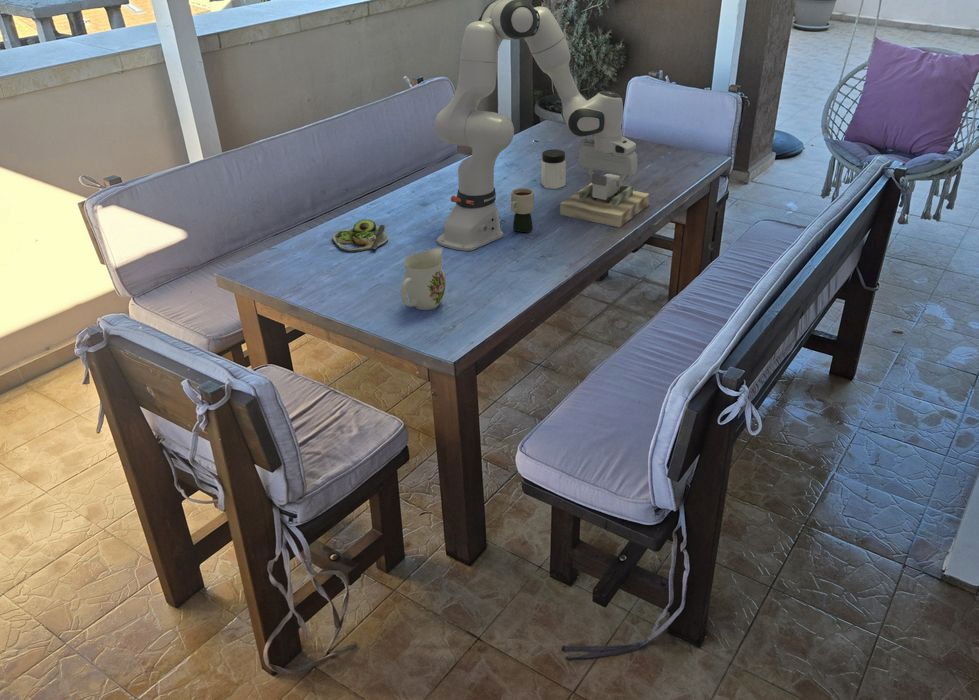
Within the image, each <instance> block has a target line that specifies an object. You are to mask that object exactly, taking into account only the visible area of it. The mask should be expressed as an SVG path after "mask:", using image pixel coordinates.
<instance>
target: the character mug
mask: <svg viewBox="0 0 979 700" xmlns="http://www.w3.org/2000/svg"><path fill="white" fill-rule="evenodd" d="M510 197H511V198H510V201H511V202H510V211H511V212H512V213H514V217H513V225H512V229H513V230H514V231H515V232H523V233H525V232H527V233H528V232H531V231H532V230H533V227H534V226H533V219H532V218H533V217H532V214H531V213H532V212H534V209H535V204H534V203H535V193H534V190H533V189H531V188H525V187H521V188H514V189H513V190H511V194H510Z"/></svg>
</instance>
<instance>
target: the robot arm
mask: <svg viewBox="0 0 979 700" xmlns="http://www.w3.org/2000/svg"><path fill="white" fill-rule="evenodd" d="M565 36H566V35H564V31H563V30H562V28H561V25H560V24H559V22H558V21H557V19H556V17H555V16H554V15H553V13H552V11H551V10H550V9H549V8H548V7H545V6H536V7H532V5H531V4H529V3H528V2H526V1H523V0H493V1H491V2H490V3H488V4H487V5H486V6H485V7H484V9H482V13H481V14H480V16H479V19H478V20H477V21H473V22H470V23H469V24H468V25H467V26H466V27H465V30H464V33H463V38H462V43H461V49H460V57H459V71H458V79H457V80H458V81H457V86H456V89H455V93H454V95H453V96H452V98H451V100H450V102H448V104H447V105H446V106H445V107H444V108H443V109H441V110H440V111H439V112H438V113H437V115H436V117H435V119H434V123H433V124H434V126H433V128H434V132H435V134H436V137H437V138H438V140H440V141H442V142H445V143H448V144H451V145H454V146H462V147H468V148H471V151H472V152H471V156H469V157H466V158H465V159H463V160H462V161H461V162H460V163H459V165H458V168H457V172H458V173H457V177H458V178H457V179H458V189H457V193H456V195H451V197H450V201H451V203H455V206H453V208H452V210H451V212H450V214H449V215H448V217H447V218H446V220H445V221H444V223H443V233H441V234H440V235H439V236H438V237H437V239H436V243H437V244H438V245H440V246H441V247H445V248H448V249H452V250H456V251H466V252H467V251H474V250H476V249H479V248H481V247H483V246H485V245H487V244H490V243H491V242H494V241H497V240H499V239H501V238H502V237H504V232H503V231H502V229H501V223H500V215H499V210H498V208H497V204H496V199H497V198H496V196H497V192H496V187H495V184H494V183H495V179H494V177H495V164H496V162H497V158H498V157H499V155H500V154H501V153H502V151H504V150H505V149H507V148H508V147H509V146H510V145H511V143H512V141H513V139H514V136H515V135H514V134H515V127H514V123H513V121H512V120H511V118H510V117H509V116H507V115H503V114H501V113H498V112H496V111H495V112H494V111H487V110H479V109H478V107H479V104H480V102H481V100H482V99H484V98H486V97H488V96H490V95H491V94H492V93H493V92H494V90H495V89H496V83H497V69H498V57H499V56H498V55H499V54H498V53H499V49H500V46H501V44H502V42H503V41H504V40H506V41H508V40H509V41H511V40H524V41H525V43H526V44H527V46H528V48H529V51H530V53H531V55H532V57H533V58H534V61H535V63H536V64H537V66H538V67H539V69H540V70H541V71H542V72H543V73H544V74H546V75H548V77H549V78H550V79H551V82H552V84H553V85H554V88H555V90H556V92H557V95H558V97H559V100H560V105H561V106H560V107H561V108H560V112H561V113H560V114H561V117H562V119H563V121H564V122H565V124H566V125H567V127H568V129H569V131H570V132H571V133H572V134H573V135H575V136H577V137H586V136H587V137H588V136H593V135H594V137H593V138H594V139H587V138H584V139H582V140H580V141H579V144H578V145H579V146H578V147H579V152H578V157H577V159H578V161H577V164H578V166H579V167H580V168H586V169H587V172H588V175H589V177H590V182H592V174H595V172H594V171H600V172H601V171H602V172H607V173H610V174H612V173H613V174H616V175H619V176H620V180H618V181H616V186H619V187H621V186H622V184H623V183H624V179H626V177H627V176H628V177H631V176H633V175H634V174H635V173H637V171H638V155H637V152H636V151H635V149H637V148H636V147H637V144H636V143H635V141H632V140H630V139H628V138H626V137H625V136H623V130H622V124H623V121H624V105H623V104H624V103H623V102H624V101H623V98H622V97H621V96H620V94H618V93H617V92H614V91H611V90H602V91H599V92H597V94H595V96H593V97H591V98H589V99H588V98H587V97H586V96H584V95H583V93H581V92H580V90H579V89H578V87H577V84H576V82H575V80H574V77H573V75H572V73H571V71H570V61H571V58H572V56H571V51H570V47H569V44H568V41H567V39H566V37H565Z"/></svg>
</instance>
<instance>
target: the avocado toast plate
mask: <svg viewBox="0 0 979 700" xmlns="http://www.w3.org/2000/svg"><path fill="white" fill-rule="evenodd" d="M385 228H386V226H385V225H384V224H380V225H377V224H376V223H375V221H373V220H372V219H370V218H369V219H367V218H365V219H361V220H358V221H356V223H354V226H353V227H351V228H346V229H340V230H338V231H336V232H335V233H333V234H332V236H331V237H332V241H333V243H335V244H336V246H337V247H339V248H340V249H341V250H343V251H346V252H351V253H352V252H353V253H358V252H364V251H368V250H376V249H377V248H378V247H380V246H382V245H384V244H386V242H388V240H389V236H388V234H387V233H386V232H385ZM345 245H356V246H357V248H355V247H353V248H352V247H346V246H345Z"/></svg>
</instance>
